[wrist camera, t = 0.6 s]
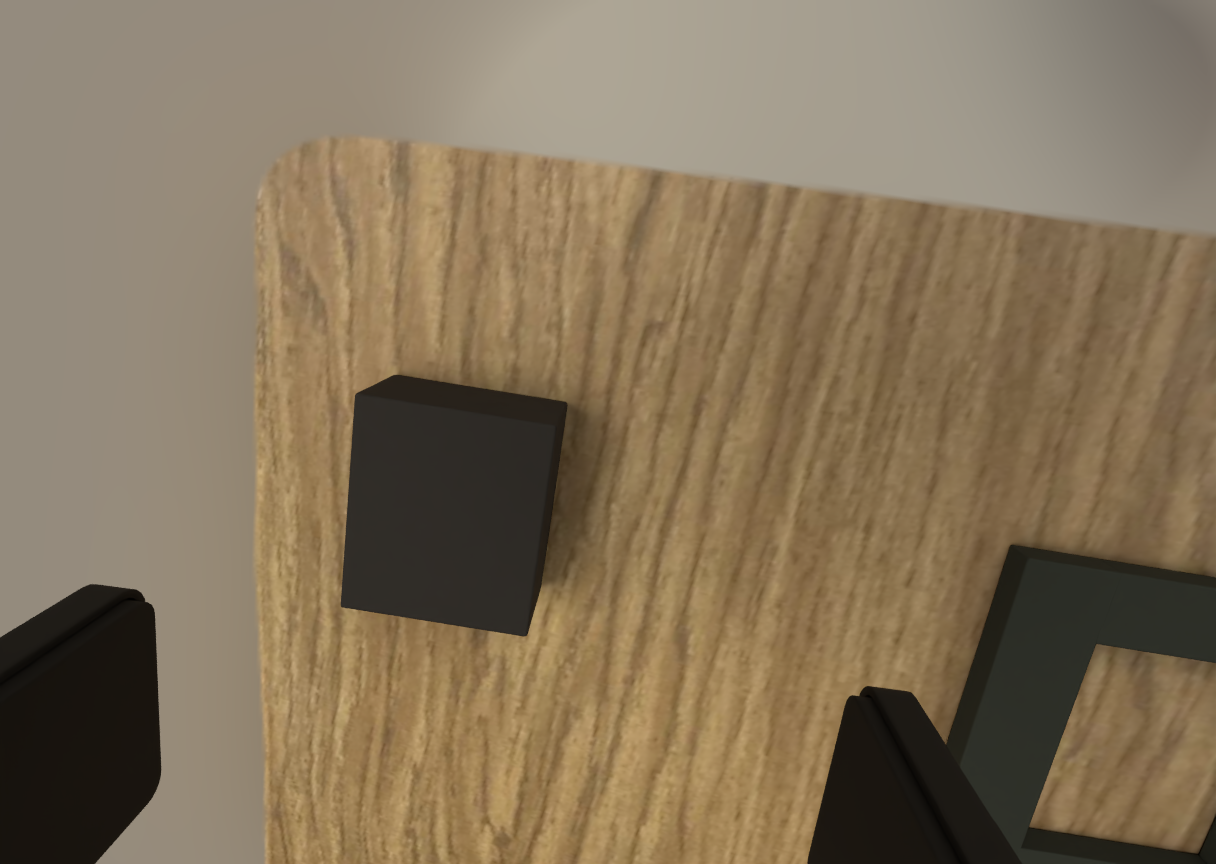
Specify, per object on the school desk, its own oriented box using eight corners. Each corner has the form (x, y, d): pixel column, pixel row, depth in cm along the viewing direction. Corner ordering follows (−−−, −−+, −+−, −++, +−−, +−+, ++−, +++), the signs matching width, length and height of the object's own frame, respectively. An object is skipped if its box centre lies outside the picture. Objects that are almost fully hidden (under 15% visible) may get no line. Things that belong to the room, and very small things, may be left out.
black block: (393, 373, 24) (353, 392, 20) (568, 402, 24) (556, 425, 20) (378, 561, 26) (339, 608, 22) (541, 587, 26) (526, 638, 22)
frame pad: (1009, 543, 24) (1028, 558, 23) (1403, 607, 25) (1442, 624, 23) (906, 866, 28) (918, 893, 27) (1252, 921, 28) (1279, 950, 27)
